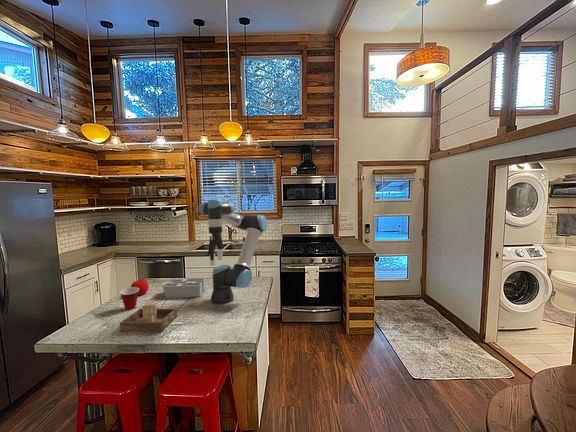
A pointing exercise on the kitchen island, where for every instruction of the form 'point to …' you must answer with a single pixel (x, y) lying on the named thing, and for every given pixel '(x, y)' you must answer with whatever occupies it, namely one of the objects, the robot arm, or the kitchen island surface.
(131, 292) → the plastic cup
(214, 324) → the kitchen island surface
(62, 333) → the kitchen island surface
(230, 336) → the kitchen island surface
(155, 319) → the oak peg
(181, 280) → the grey compartment tray
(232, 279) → the robot arm
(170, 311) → the walnut crate
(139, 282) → the tomato
